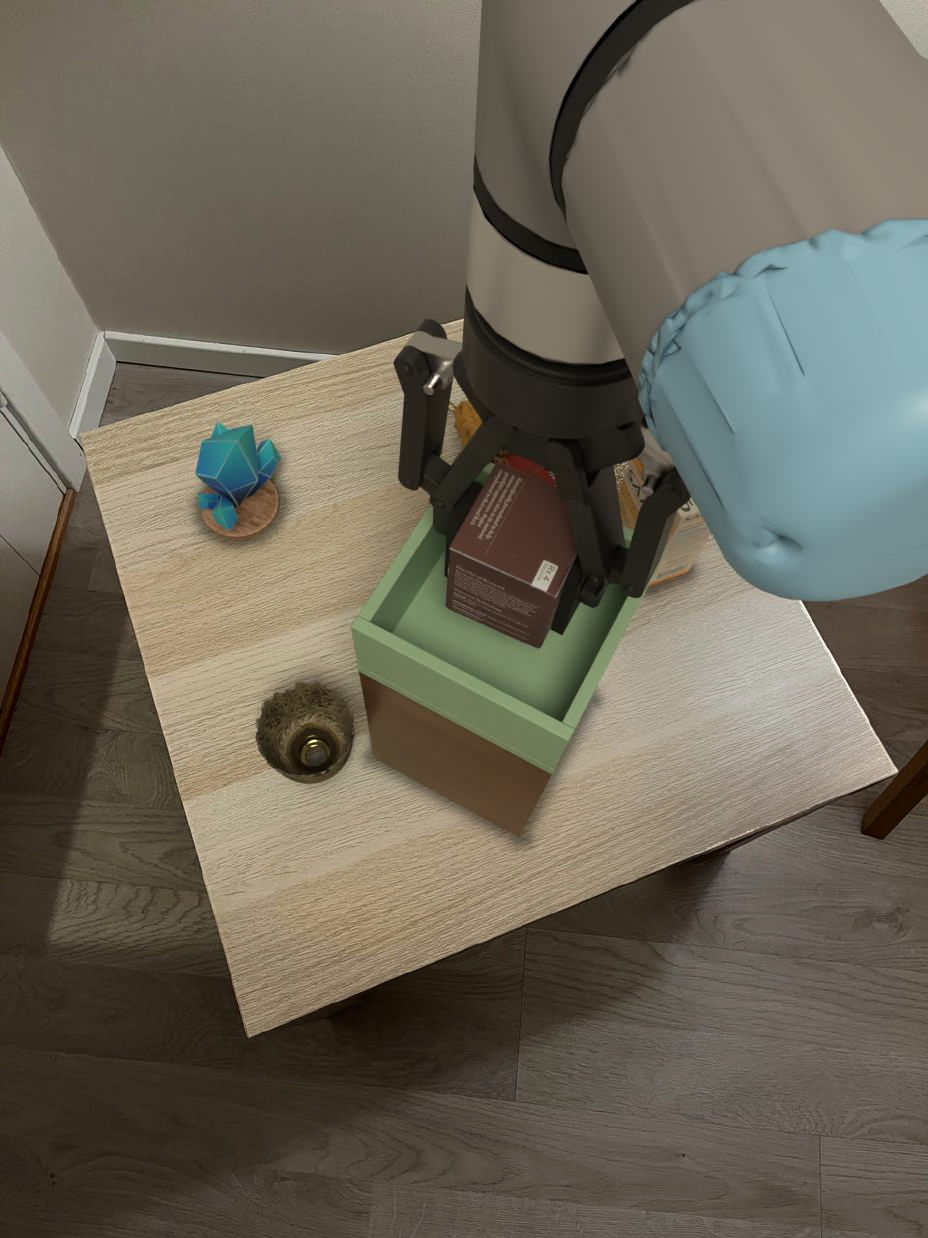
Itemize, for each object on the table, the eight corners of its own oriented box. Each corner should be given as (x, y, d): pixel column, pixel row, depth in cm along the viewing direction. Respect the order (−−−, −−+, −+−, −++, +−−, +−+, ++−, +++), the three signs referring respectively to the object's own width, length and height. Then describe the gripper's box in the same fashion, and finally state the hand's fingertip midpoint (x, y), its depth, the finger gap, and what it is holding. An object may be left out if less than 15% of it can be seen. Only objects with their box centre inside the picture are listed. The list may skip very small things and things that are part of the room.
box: (488, 527, 54) (498, 456, 47) (581, 568, 53) (603, 502, 46) (442, 609, 52) (445, 547, 45) (538, 654, 51) (556, 597, 44)
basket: (551, 774, 55) (568, 741, 48) (358, 671, 57) (350, 626, 50) (642, 598, 60) (668, 546, 53) (461, 509, 62) (466, 449, 56)
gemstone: (300, 487, 85) (282, 408, 75) (247, 557, 82) (220, 485, 71) (235, 454, 87) (208, 371, 76) (180, 521, 83) (144, 445, 72)
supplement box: (605, 517, 85) (634, 434, 74) (650, 502, 86) (687, 418, 74) (643, 591, 82) (680, 517, 70) (690, 575, 83) (734, 499, 71)
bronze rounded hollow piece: (344, 701, 77) (335, 667, 70) (374, 780, 74) (368, 753, 67) (259, 732, 75) (241, 701, 68) (286, 814, 73) (271, 791, 66)
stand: (519, 838, 73) (551, 774, 55) (373, 757, 75) (358, 671, 57) (591, 698, 78) (642, 598, 60) (452, 627, 80) (461, 509, 62)
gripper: (872, 325, 31) (690, 609, 52) (389, 124, 34) (402, 469, 55) (799, 487, 28) (638, 719, 49) (279, 251, 31) (336, 564, 52)
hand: (513, 586), depth 52 cm, fingers closed on box, 6 cm apart
